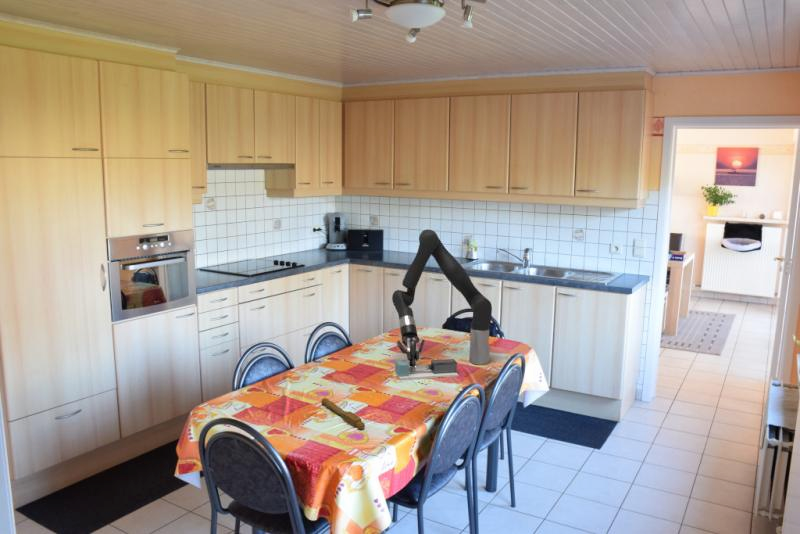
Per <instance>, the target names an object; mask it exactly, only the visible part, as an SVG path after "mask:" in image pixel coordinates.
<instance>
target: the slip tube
mask: <svg viewBox="0 0 800 534" xmlns="http://www.w3.org/2000/svg"><path fill="white" fill-rule="evenodd" d="M409 352H410V354H411V361H409V362H408V364H409V371H410V372H415V371H419V370H434V364H431V363H428V364H426V363H425V364H416V340H410V351H409Z"/></svg>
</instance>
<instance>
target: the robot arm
mask: <svg viewBox="0 0 800 534" xmlns="http://www.w3.org/2000/svg"><path fill="white" fill-rule="evenodd" d="M418 242H419V245H418V249H417V251H416V254H415V256H414V259H413V260H412V262H411V263H410V266H409V267H408V269H407V271H406V274H405V275H404V278H403V279H402V286H403V287H404V288H406V291H404V290H400V289H397V290H395V291H394V292H393V294H392V296H391V300H392V303H393V306H394V308H395V310H396V313H397V314H398V315H397V316H398V321H399V330H400V335H401V339H400V340H397V341H396V347H398V349H399V350H400V352H401V353H402V354H406V359H407V361H408V362H410V361H411V354H410V340H416V361H417V362H418V361H419V360H420V353H422V350H423V349H424V348H423V347H424V344H425V341H426V340H425V339H424V338H423V339H421V338H419V335H418V330H417V325H416V320H415V317H414V312H413V308H412V307H410V306H412V305H413V304H414V301H415V294H416V289H417V285H418V283H419V281H420V278H421V277H422V274H423V272H424V270H425V268H426V265H427V263H428V261H429V260H430V257H431V256H432V257H433V259H434V260H435V262H436V264H437V265H438V267H439V269H440V271H441V272H442V274H443V275H444V276H445V278H446V279H447V281H449V282H450V284H451V285H452V286H453V287H454V288H455V289H456V290H457V291H458V292H460V294H461V295H462V296H463V298H464V299H465V301H466V302H467V304H468V305H469V306H470V307H469V308H471V310H472V321H471V323H470V331H469V332H470V334H469V335H470V336H469V338H470V339H469V353H468V354H469V357H468V362H469V363H471V364H474V365H477V366H478V365H481V366H482V365H487V364H490V353H491V344H490V327H491V323H492V313H493V307H492V303H491V301H490V300H489V299H488V298H487V297H486V296H485V295H483V294H482V293H481V292H480V290H478V288H477V287H476V286H475V285H474V283H473V282H472V279H471V277H470V275H468V273H467V271H466V270H465V268H464V267H463V266H462V264H460V262H459V261H458V260H457V259H456V258H455V256H454V255H452V253H450V251H449V250H447V248H446V247H445V246H444V244H443V242H442V241H441V239H440V238H439V236H438V234H437V233H436V231H434V230H432V229H424V230H423V231H421V232H420V234H419V237H418ZM418 344H419V345H420V346H419V347H418Z"/></svg>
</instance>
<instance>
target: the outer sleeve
mask: <svg viewBox="0 0 800 534" xmlns="http://www.w3.org/2000/svg"><path fill="white" fill-rule="evenodd" d="M430 364H434V370H431V371H432V372H433V373H434V374H442V373H457V374H458V372H457V371H458V370H457V369H458V367H457V366H458V362H457V361H456V360H455V359H454V358H452V359H451V358H447V359H431V361H430Z"/></svg>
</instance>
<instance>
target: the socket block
mask: <svg viewBox="0 0 800 534" xmlns="http://www.w3.org/2000/svg"><path fill="white" fill-rule="evenodd" d="M394 365H395V366H394V370H395V372H396V373H397V375H398V376H399V377H406V376H409V362H407V361H406V359H396V360H395V362H394ZM395 372H394V373H395ZM397 375H396V376H397Z"/></svg>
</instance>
